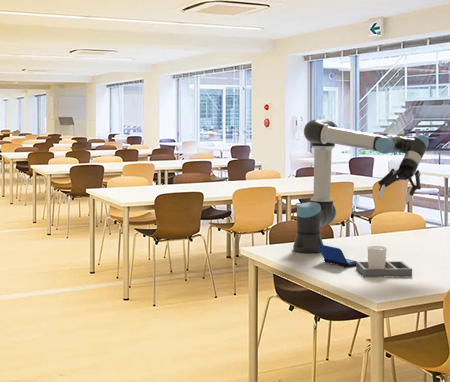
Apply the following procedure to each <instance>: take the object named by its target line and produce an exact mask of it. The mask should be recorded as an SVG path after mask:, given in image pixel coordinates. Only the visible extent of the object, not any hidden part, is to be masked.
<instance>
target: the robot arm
mask: <svg viewBox="0 0 450 382" xmlns="http://www.w3.org/2000/svg"><path fill="white" fill-rule="evenodd" d="M303 135H304V136H303V137H305V139H306V140H307V142H309V143H311V147H312V148H313V150H314V151H313V152H314V156H313V157H314V158H313V161H314V162H313V164H314V165H313V166H314V167H313V194H312V195H313V196H312V197H311V198H310V199H309V201H307V202H302V203H299V204H298V205H297V208H296V209H297V210H296V236H295V239H294V243H293V246H292V247H293V251H294V250H295V251H294V252H296V251H297V253H301V252H304V253H303V254H314V253H315V252H318V253H321V251H320V249H319V247H318V244H321V245H324V243H323V239H322V236H321V235H322V234H321V227H325V226H328V225H330V224H331V223H333V222H334V221H335V219H336V216H337V208H336V207H335V205H334V199H333V197H331V185H332V183H331V182H332V151H333V149H334V148H335V145H341V146H346V147H350V148H351V147H352V148H357V149H361V150H362V149H363V150H367V151H374V152H377V153H380V154H383V155H387V154H392V153H400V154H404V156H403V157H402V160H401V162H400V164H399V166H398V167H399V168H398V169H397V170H396V169H394V168H391V170H390V171H389V172H388V173H387V174H386V175H385V176H384V177H383V178H381V179H380V180H379V181H378V182H377V183H378V185H379V189H378V193H377V198H378V200H382V198H383V196H384V195H385V192H386V190H387V187H389V186H390V185H392V184H393V183H395V182H397V181H400V180H401V181H408V182H409V183H410V185H411V186H409V188H408V190H407V193H406V194H405V197H404V200H405V202H406V203H409V201H410V199H411V197H412V196H414V195H415V192H416V191H417V190H419V191H420V190H421V189H422V186H421V178H420V177H421V172H420V170H419V169H418V167H419V165H420V163H421V161H422V159H423V157H424V155H425V153H426V151H427V149H428V146H429V144H430V141H429V138H428V137H427V136H425V135H424V134H422V133H421V134H419V133H418V134H415V135H414V136H413V137H405V136H400V135H396V134H386V135H385V136H384V135H380V134H373V133H368V132H361V131H356V130H351V129H346V128H339V126H338V125H337V124H336V123H335V121H333V120H332V119H331V120H330V119H326V118H324V119H312V120H310V121H308V122H307V123H306V124H305V125H304V128H303ZM412 177H415V178H414V179H415V183H414V181H413V179H412ZM315 254H316V253H315Z"/></svg>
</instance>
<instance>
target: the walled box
mask: <svg viewBox="0 0 450 382" xmlns="http://www.w3.org/2000/svg"><path fill="white" fill-rule="evenodd" d="M355 268H356V270H357V271H358V272H359V274H360V275H361V276H362V275H363V276H364V277H363V278H385V277H384V276H412V277H413V268H412V267H410V266H409V265H407V264H406V263H405V262H404V261H402V260H400V261H399V260H396V261H394V260H393V261H392V260H391V261H387V260H386V263H385V269H369V266H368V261H357V262H356V266H355Z"/></svg>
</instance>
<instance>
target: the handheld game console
mask: <svg viewBox="0 0 450 382" xmlns="http://www.w3.org/2000/svg"><path fill="white" fill-rule="evenodd" d="M318 247H319V249H320V251H321V252H320V253H321V255H322V257H323V262H324V261H325V262H324V263H327V262H329V263H328V264H331V263H332V264H331V265H336V264H338V265H340V266H339V267H342V266H343V268H346V267H347V268H353V267H356V262H358V261H357V260H353V259H349V258H346V257H345V255H344V253H343V250H342V249H340V248H339V247H334V246H328V245H325V244H323V245H321V244H318ZM338 265H337V266H338ZM347 268H346V269H347Z"/></svg>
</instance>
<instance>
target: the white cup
mask: <svg viewBox="0 0 450 382" xmlns="http://www.w3.org/2000/svg"><path fill="white" fill-rule="evenodd" d="M386 261H387V247H385V246H380V245H369V246H367V262H368V266H369V269H385V263H386Z"/></svg>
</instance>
